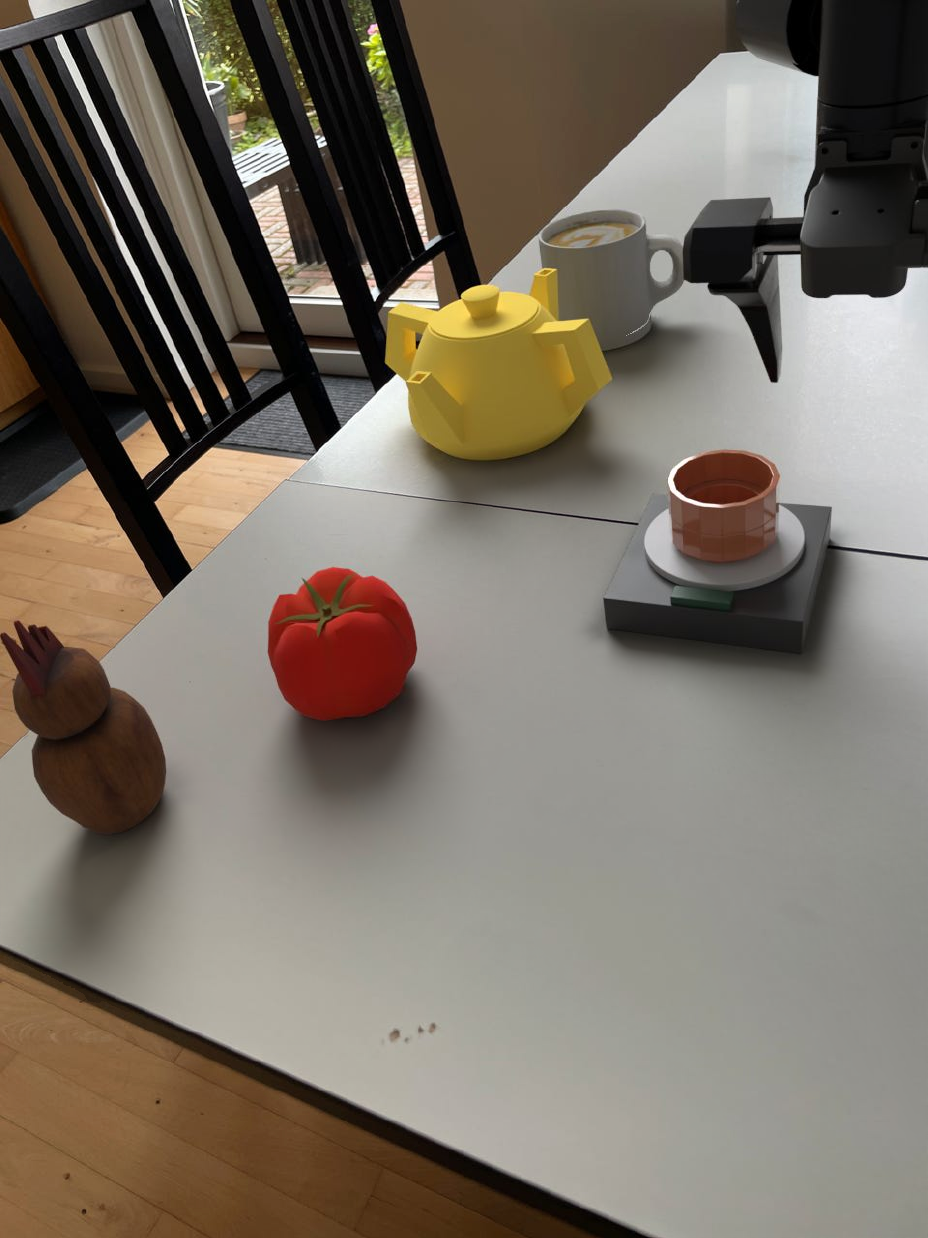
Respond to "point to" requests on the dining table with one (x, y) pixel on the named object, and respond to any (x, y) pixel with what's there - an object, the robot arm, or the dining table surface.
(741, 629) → the scale
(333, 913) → the dining table surface
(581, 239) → the coffee mug
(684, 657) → the dining table surface
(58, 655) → the wooden figurine
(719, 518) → the bowl
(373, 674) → the tomato
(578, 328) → the teapot
